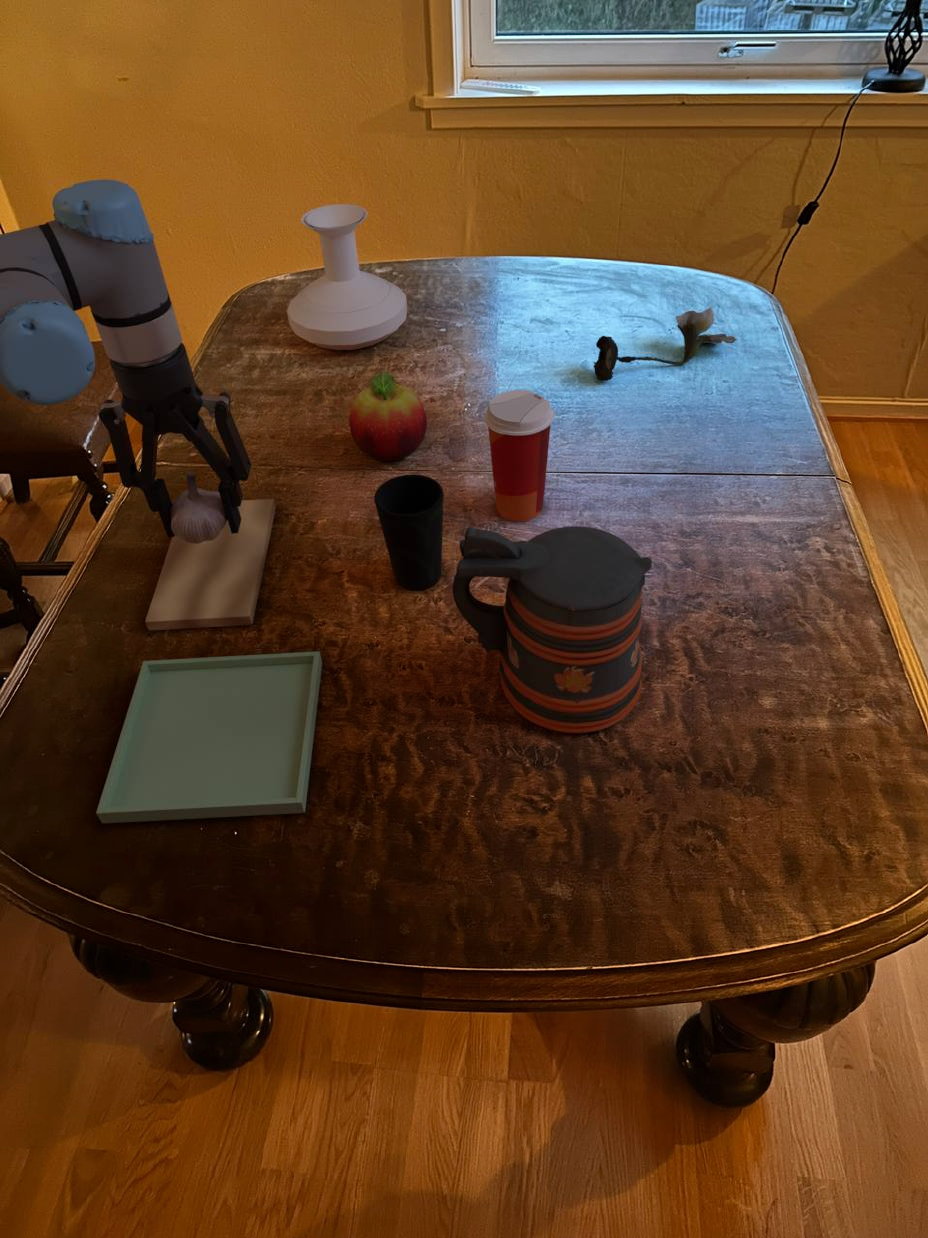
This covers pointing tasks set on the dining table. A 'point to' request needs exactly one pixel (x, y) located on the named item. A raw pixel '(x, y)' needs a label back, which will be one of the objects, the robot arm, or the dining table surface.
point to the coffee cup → (519, 452)
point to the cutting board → (214, 575)
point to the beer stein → (560, 622)
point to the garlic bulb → (197, 514)
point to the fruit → (387, 420)
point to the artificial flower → (689, 327)
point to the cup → (412, 528)
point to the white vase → (344, 289)
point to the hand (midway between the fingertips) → (205, 527)
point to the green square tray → (215, 739)
